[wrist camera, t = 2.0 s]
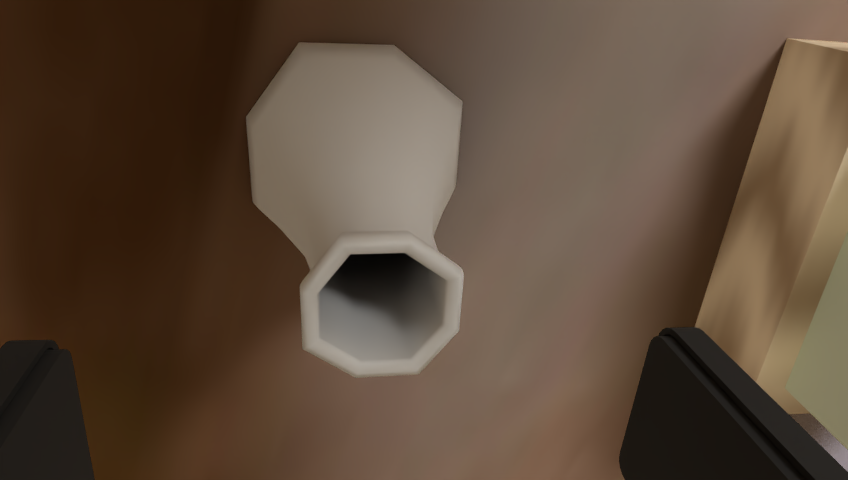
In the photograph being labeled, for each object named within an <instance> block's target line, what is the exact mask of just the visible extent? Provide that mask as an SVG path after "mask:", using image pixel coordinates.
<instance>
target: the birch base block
mask: <svg viewBox="0 0 848 480" xmlns="http://www.w3.org/2000/svg"><path fill="white" fill-rule="evenodd" d="M847 231H848V42H833V41H819V40H805V39H790V38H787V40H786V43H785V46H784V49H783V53H782V56H781V59H780V62H779V65H778V68H777V71H776V74H775V78H774V81H773V84H772V87H771V90H770V93H769V96H768V99H767V103H766V106H765V109H764V112H763V115H762V118H761V121H760V124H759V128H758V131H757V134H756V137H755V140H754V143H753V146H752V149H751V153H750V156H749V159H748V162H747V165H746V168H745V171H744V174H743V178H742V181H741V184H740V187H739V190H738V193H737V196H736V199H735V203H734V206H733V209H732V212H731V215H730V218H729V221H728V224H727V228H726V231H725V234H724V237H723V240H722V243H721V246H720V249H719V253H718V256H717V259H716V262H715V265H714V268H713V271H712V274H711V278H710V281H709V284H708V287H707V290H706V293H705V296H704V299H703V303H702V306H701V309H700V312H699V315H698V318H697V321H696V324H695V327H696V328H700V329H701V330H703V331H704V332H705V333H706V334H707V335H708V336H709V337H710V338H711V339H712V340H713V341H714V342H715V343H716V344H717V345H718V346H719V347H720V348H721V349H722V350H723V351H724V352H725V353H726V354H727V355H728V356H729V357H730V358H731V359H733V360H734V361H735V362H736V363H737V364H738V365H739V366H740V367H741V368H742V369H743V370H744V371H745V372H746V373H747V374H748V375H749V376H750V377H751V378H752V379H753V380H754V381H755V382H756V383H757V384H758V385H759V386H760V387H761V388H762V389H763V390H764V391H765V392H766V393H767V394H768V395H769V396H770V397H771V398H772V399H773V400H774V401H775V402H777V403H778V404H779V405H780V406H781V407H782V408H783V409H784V410H785V411H786V412H787V413H788V414H806V413H810V412H809V411H808V410H807V409H806V408H805V407H803V406H802V405H801V404H800V403H799V402H798V401H797V400H796V399H795V398H794V397H793V396H792V395H791V394H790V393H789V392H788V391H787V390H786V389H785V386H786V383H787V381H788V378H789V376H790V373H791V371H792V368H793V366H794V363H795V361H796V358H797V356H798V354H799V351H800V349H801V346H802V344H803V341H804V339H805V336H806V334H807V331H808V329H809V326H810V324H811V321H812V319H813V316H814V314H815V311H816V309H817V306H818V304H819V301H820V299H821V296H822V294H823V291H824V289H825V286H826V284H827V281H828V279H829V276H830V274H831V271H832V269H833V266H834V264H835V261H836V259H837V256H838V254H839V251H840V249H841V246H842V244H843V241H844V239H845V236H846V234H847Z"/></svg>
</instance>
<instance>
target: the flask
mask: <svg viewBox="0 0 848 480" xmlns="http://www.w3.org/2000/svg"><path fill="white" fill-rule="evenodd" d="M462 106H463V101H461V100H460V99H459V98H458V97H457V96H455V95H454V94H453V93H452V92H451V91H449V90H448V89H447V88H446V87H445V86H443V85H442V84H441V83H440V82H438V81H437V80H436V79H435V78H434V77H432V76H431V75H430V74H429V73H428V72H426V71H425V70H424V69H423V68H421V67H420V66H419V65H418V64H417V63H415V62H414V61H413V60H412V59H411V58H409V57H408V56H407V55H406V54H405V53H403V52H402V51H401V50H400V49H398V48H397V47H396V46H395V45H380V44H344V43H307V42H299V43H298V44H297V46H296V47H295V49H294V50H293V51H292V53H291V54H290V56H289V57H288V58H287V60H286V61H285V63H284V64H283V66H282V67H281V68H280V70H279V71H278V73H277V74H276V75H275V77H274V78H273V80H272V81H271V82H270V84H269V85H268V87H267V88H266V89H265V91H264V92H263V94H262V95H261V96H260V98H259V99H258V101H257V102H256V103H255V105H254V106H253V108H252V109H251V110H250V112H249V113H248V115H247V116H246V126H247V138H248V151H249V164H250V176H251V189H252V202H253V203H254V204H255V205H256V206H257V208H258V209H259V210H260V211H262V212H263V213H264V214H265V215H266V216H267V217H268V218H269V219H270V220H271V221H272V222H274V223H275V224H276V225H277V226H278V227H279V228H280V229H281V230H282V231H283V232H284V234H285V235H286V236H287V237H288V238H289V239H290V240H291V241H292V243H293V244H294V245H295V246H296V247H297V248H298V249H299V251H300V252H301V253H302V254H303V255H304V256H305V258H306V260H307V263H308V266H309V269H310V272H309V273H308V274H307V275H306V277H305V278H304V279H303V281H302V282H301V284H300V304H301V326H302V348H303V350H305V351H307V352H309V353H311V354H313V355H314V356H316V357H318V358H320V359H322V360H324V361H326V362H327V363H329V364H331V365H333V366H335V367H337V368H338V369H340V370H342V371H344V372H346V373H348V374H349V375H351V376H353V377H355V378H363V377H381V376H398V375H416V374H419V373H420V372H421V371H422V370H423V369H424V368H425V367H426V366H427V365H428V364H429V363H430V362H431V361H432V359H433V358H434V357H435V356H436V355H437V354H438V353H439V352H440V351H441V350H442V349H443V348H444V347H445V345H446V344H447V343H448V342H449V341H450V340H451V339H452V338H453V337H454V336H455V335H456V334H457V333H458V331H459V325H460V314H461V302H462V291H463V279H464V273H463V270H462V268H461V267H460V266H458V265H457V264H456V263H455V262H453V261H452V260H450V259H449V258H447V257H446V256H444V255H443V254H441V253H440V252H438V249H437V246H436V243H435V240H434V237H433V236H434V234H435V231H436V228H437V226H438V223H439V221H440V218H441V216H442V213H443V211H444V209H445V207H446V205H447V203H448V201H449V200H450V198H451V196H452V194H453V192H454V189H455V187H456V184H457V171H458V158H459V145H460V132H461V119H462Z"/></svg>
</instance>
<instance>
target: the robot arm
mask: <svg viewBox="0 0 848 480" xmlns="http://www.w3.org/2000/svg"><path fill="white" fill-rule="evenodd" d="M619 463H620V468H621V472H622V474H623V476H624V478H625V480H848V472H847V471H846V470H845V469H844V468H843V467H842V466H841V465H840V464H839V463H838V462H837V461H836V460H835V459H834V458H833V457H832V456H831V455H830V454H829V453H828V452H827V451H826V450H825V449H824V448H823V447H822V446H821V445H819V444H818V443H817V442H816V441H815V440H814V439H813V438H812V437H811V436H810V435H809V434H808V433H807V432H806V431H805V430H804V429H803V428H802V427H801V426H800V425H799V424H798V423H797V422H796V421H795V420H794V419H793V418H792V417H791V416H790V415H789V414H788V413H787V412H786V411H785V410H784V409H783V408H782V407H781V406H780V405H779V404H778V403H777V402H775V401H774V400H773V399H772V398H771V397H770V396H769V395H768V394H767V393H766V392H765V391H764V390H763V389H762V388H761V387H760V386H759V385H758V384H757V383H756V382H755V381H754V380H753V379H752V378H751V377H750V376H749V375H748V374H747V373H746V372H745V371H744V370H743V369H742V368H741V367H740V366H739V365H738V364H737V363H736V362H735V361H734V360H733V359H731V358H730V357H729V356H728V355H727V354H726V353H725V352H724V351H723V350H722V349H721V348H720V347H719V346H718V345H717V344H716V343H715V342H714V341H713V340H712V339H711V338H710V337H709V336H708V335H707V334H706V333H705V332H704V331H703V330H701V329H700V328H696V327H682V328H665V329H663V330H662V331H661V332H660V333H659V336H656V337H654V338H653V339H652V340H651V342H650V345H649V348H648V352H647V356H646V359H645V363H644V367H643V370H642V374H641V378H640V381H639V385H638V389H637V392H636V396H635V400H634V403H633V407H632V411H631V414H630V418H629V422H628V425H627V429H626V433H625V436H624V440H623V444H622V447H621V451H620V456H619ZM0 480H94V474H93V469H92V463H91V458H90V453H89V447H88V442H87V437H86V431H85V426H84V420H83V415H82V410H81V404H80V399H79V393H78V388H77V383H76V377H75V372H74V367H73V361H72V357H71V354H70V352H69V351H68V350H66V349H62V350H59V348H58V346H57V344H56V342H55V341H53V340H19V341H8V342H6V343H5V344H4V345H3V346H2V347H1V348H0Z"/></svg>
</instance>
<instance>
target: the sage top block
mask: <svg viewBox="0 0 848 480" xmlns="http://www.w3.org/2000/svg"><path fill="white" fill-rule="evenodd" d="M785 389H786V390H787V391H788V392H789V393H790V394H791V395H792V396H793V397H794V398H795V399H796V400H797V401H798V402H799V403H800V404H801V405H802V406H803V407H805V408H806V409H807V410H808V411H809V412H810V413H811V414H812V415H813V416H814V417H815V418H816V419H817V420H818V421H819V422H820V423H821V424H822V425H823V426H824V427H825V428H826V429H827V430H828V431H829V432H830V433H831V434H832V435H833V436H834V437H835V438H836V439H837V440H838V441H839V442H840V443H841V444H842V445H843V446H844V447H845V448H847V449H848V231H847V234H846V236H845V239H844V241H843V244H842V246H841V249H840V251H839V254H838V256H837V259H836V261H835V264H834V266H833V269H832V271H831V274H830V276H829V279H828V281H827V284H826V286H825V289H824V291H823V294H822V296H821V299H820V301H819V304H818V306H817V309H816V311H815V314H814V316H813V319H812V321H811V324H810V326H809V329H808V331H807V334H806V336H805V339H804V341H803V344H802V346H801V349H800V351H799V354H798V356H797V358H796V361H795V363H794V366H793V368H792V371H791V373H790V376H789V378H788V381H787V383H786V386H785Z"/></svg>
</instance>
